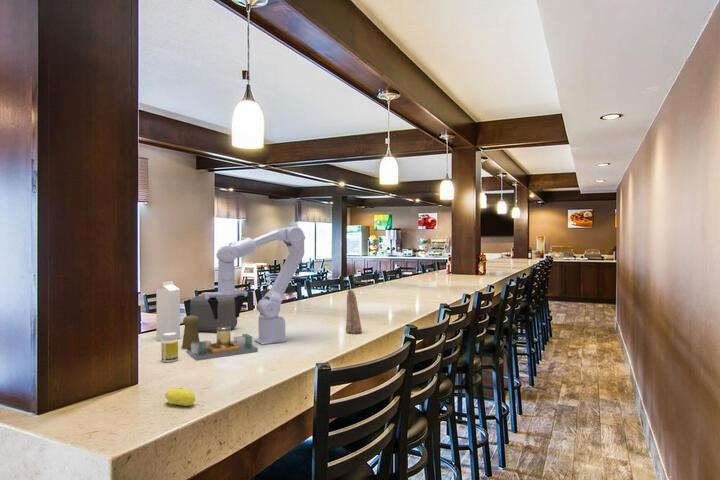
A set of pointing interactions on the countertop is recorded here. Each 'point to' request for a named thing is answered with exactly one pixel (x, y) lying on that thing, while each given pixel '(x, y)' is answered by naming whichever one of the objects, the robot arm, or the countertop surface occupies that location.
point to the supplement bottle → (169, 347)
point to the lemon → (180, 396)
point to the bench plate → (209, 350)
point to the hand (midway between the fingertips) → (226, 317)
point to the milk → (168, 310)
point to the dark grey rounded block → (205, 314)
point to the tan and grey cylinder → (223, 336)
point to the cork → (190, 331)
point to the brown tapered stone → (352, 315)
